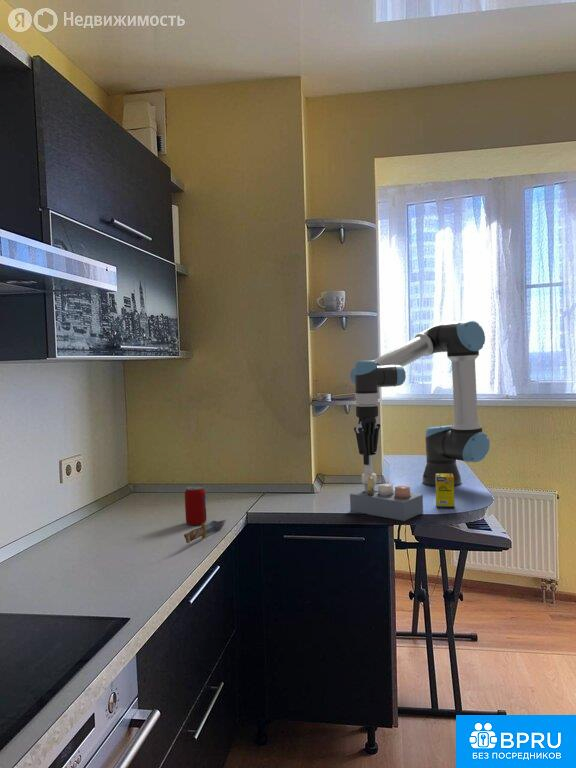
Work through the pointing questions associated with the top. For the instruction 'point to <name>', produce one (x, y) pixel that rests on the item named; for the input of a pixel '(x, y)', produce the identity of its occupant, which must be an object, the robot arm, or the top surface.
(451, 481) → the supplement box
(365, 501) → the mount
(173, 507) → the top surface
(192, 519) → the beverage can
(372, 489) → the pot post
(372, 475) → the knob
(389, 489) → the knob
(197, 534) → the knife
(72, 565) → the top surface
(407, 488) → the knob
